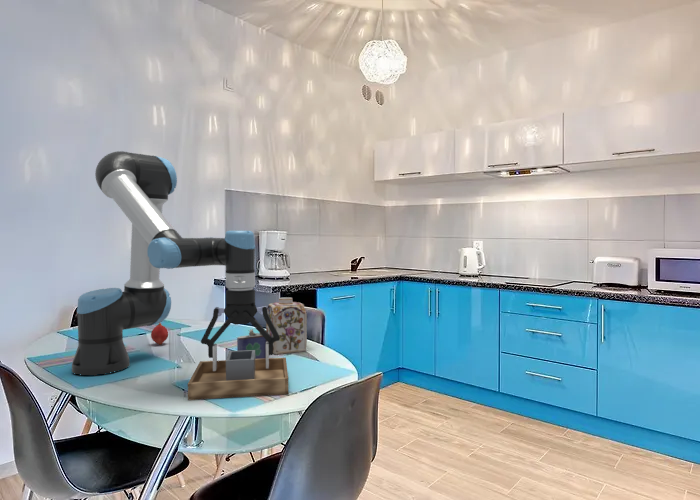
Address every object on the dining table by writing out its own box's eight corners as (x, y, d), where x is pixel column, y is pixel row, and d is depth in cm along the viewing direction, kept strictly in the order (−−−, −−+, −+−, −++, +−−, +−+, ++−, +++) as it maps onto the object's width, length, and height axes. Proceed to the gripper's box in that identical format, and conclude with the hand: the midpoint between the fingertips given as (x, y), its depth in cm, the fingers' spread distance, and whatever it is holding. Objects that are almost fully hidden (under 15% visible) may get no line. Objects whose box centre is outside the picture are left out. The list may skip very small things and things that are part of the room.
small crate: (226, 388, 118) (225, 360, 118) (229, 376, 128) (229, 351, 128) (254, 386, 120) (253, 359, 119) (255, 375, 129) (255, 349, 129)
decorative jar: (273, 355, 154) (273, 301, 153) (265, 347, 165) (265, 296, 164) (308, 351, 159) (307, 298, 158) (297, 344, 169) (297, 294, 169)
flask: (238, 367, 139) (238, 332, 139) (235, 365, 142) (235, 330, 142) (267, 363, 144) (267, 329, 144) (264, 361, 147) (264, 327, 146)
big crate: (187, 400, 112) (187, 383, 112) (200, 375, 132) (200, 361, 132) (288, 394, 116) (288, 378, 116) (285, 371, 136) (285, 357, 136)
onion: (147, 345, 167) (147, 323, 167) (159, 342, 173) (159, 320, 172) (160, 347, 165) (159, 324, 165) (171, 343, 170) (171, 321, 170)
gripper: (188, 291, 117) (190, 375, 118) (288, 289, 122) (289, 370, 122) (193, 288, 125) (194, 366, 125) (287, 286, 129) (288, 362, 130)
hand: (241, 368), depth 124 cm, fingers open, 13 cm apart
